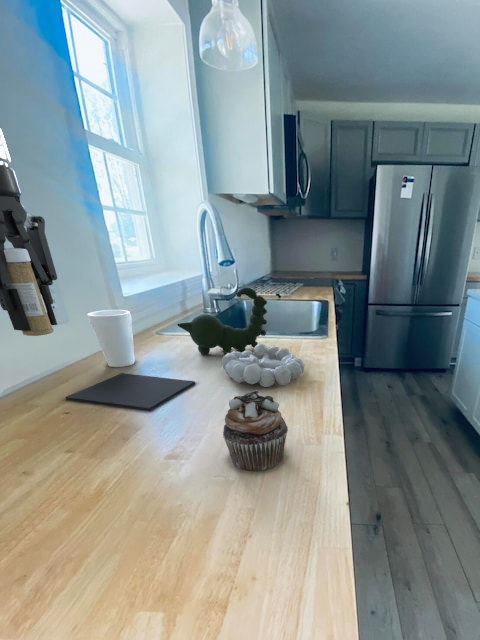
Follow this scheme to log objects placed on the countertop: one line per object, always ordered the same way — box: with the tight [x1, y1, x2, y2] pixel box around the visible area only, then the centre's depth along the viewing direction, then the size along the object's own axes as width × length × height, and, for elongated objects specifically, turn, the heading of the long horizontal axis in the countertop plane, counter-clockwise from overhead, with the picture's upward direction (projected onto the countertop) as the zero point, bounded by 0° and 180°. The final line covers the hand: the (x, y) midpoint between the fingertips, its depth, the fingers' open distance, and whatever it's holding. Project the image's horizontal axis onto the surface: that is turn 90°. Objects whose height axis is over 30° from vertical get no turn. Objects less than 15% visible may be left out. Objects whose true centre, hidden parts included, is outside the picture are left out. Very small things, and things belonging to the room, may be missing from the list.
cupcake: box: [222, 390, 289, 472], centre depth 54 cm, size 10×10×10 cm
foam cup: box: [86, 309, 136, 368], centre depth 94 cm, size 10×9×13 cm
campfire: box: [221, 343, 306, 388], centre depth 89 cm, size 22×21×6 cm
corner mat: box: [65, 372, 196, 412], centre depth 80 cm, size 20×16×1 cm
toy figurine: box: [176, 287, 268, 356], centre depth 105 cm, size 9×19×25 cm
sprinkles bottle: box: [4, 247, 54, 337], centre depth 61 cm, size 5×5×13 cm
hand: (36, 326), depth 64 cm, fingers closed on sprinkles bottle, 4 cm apart
